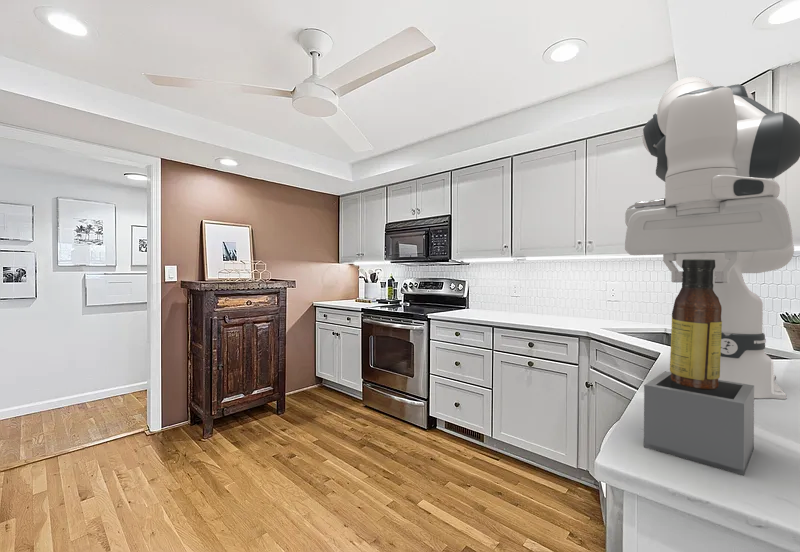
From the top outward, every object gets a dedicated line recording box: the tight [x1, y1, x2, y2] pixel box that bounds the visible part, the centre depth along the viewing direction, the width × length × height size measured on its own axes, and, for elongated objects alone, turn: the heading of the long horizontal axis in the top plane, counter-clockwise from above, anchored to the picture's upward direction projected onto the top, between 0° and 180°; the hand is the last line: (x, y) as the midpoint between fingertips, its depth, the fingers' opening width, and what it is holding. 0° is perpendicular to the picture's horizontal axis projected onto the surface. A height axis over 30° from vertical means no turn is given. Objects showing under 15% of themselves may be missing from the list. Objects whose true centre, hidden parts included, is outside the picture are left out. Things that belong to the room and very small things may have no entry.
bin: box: [643, 370, 755, 477], centre depth 59 cm, size 12×12×10 cm
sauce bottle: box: [669, 259, 722, 390], centre depth 59 cm, size 6×6×20 cm
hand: (699, 282), depth 59 cm, fingers open, 4 cm apart
